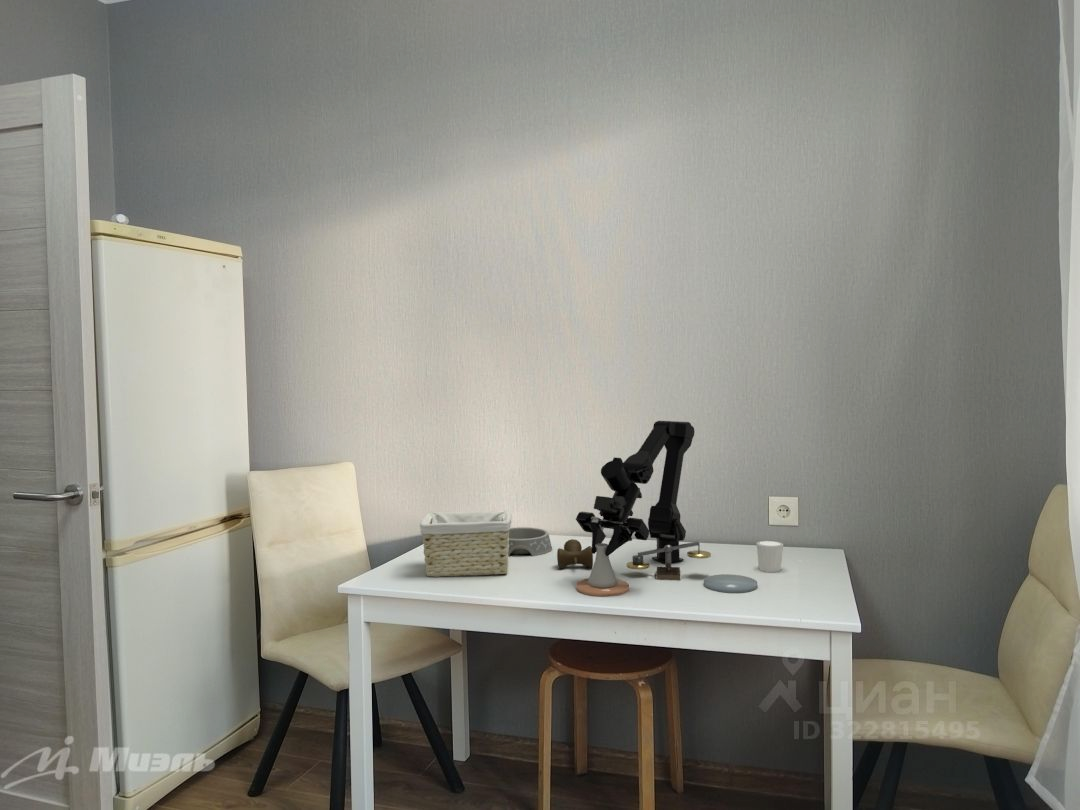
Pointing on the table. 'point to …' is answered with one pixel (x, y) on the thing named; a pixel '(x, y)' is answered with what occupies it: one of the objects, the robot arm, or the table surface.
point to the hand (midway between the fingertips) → (599, 554)
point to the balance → (667, 560)
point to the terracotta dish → (596, 591)
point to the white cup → (769, 555)
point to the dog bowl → (529, 541)
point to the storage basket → (466, 543)
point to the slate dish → (730, 583)
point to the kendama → (574, 555)
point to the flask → (602, 569)
